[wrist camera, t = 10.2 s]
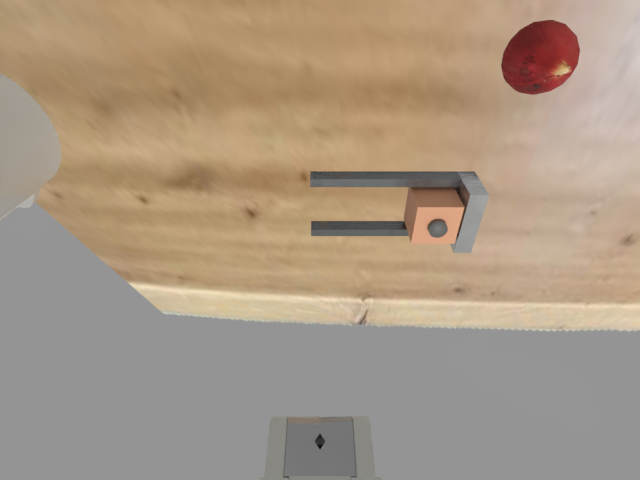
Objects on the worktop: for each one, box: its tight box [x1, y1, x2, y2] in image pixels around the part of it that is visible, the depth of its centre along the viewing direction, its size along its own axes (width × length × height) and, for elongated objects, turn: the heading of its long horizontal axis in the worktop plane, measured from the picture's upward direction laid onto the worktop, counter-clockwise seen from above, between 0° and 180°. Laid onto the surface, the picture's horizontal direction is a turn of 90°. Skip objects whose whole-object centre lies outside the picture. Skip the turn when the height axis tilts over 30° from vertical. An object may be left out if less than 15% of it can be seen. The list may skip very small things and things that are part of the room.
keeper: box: [404, 187, 465, 244], centre depth 45 cm, size 5×5×6 cm
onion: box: [501, 20, 580, 95], centre depth 34 cm, size 6×6×8 cm
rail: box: [310, 171, 489, 253], centre depth 46 cm, size 19×8×5 cm, turn 90°
